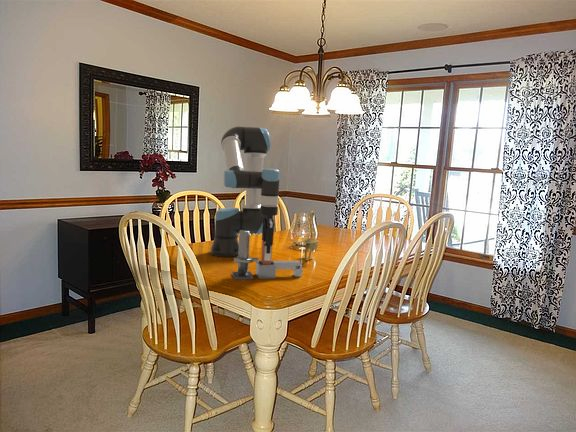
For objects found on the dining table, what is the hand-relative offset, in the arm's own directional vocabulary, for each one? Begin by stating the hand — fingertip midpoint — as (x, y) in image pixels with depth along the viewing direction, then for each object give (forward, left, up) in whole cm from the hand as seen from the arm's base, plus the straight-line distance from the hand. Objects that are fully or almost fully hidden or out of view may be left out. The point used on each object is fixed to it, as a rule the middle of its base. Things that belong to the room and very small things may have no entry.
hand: (266, 258), depth 195 cm
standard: (0, -9, -8) cm, 12 cm away
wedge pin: (0, 0, -3) cm, 3 cm away
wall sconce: (-26, +27, -8) cm, 38 cm away
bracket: (0, +6, -8) cm, 10 cm away
